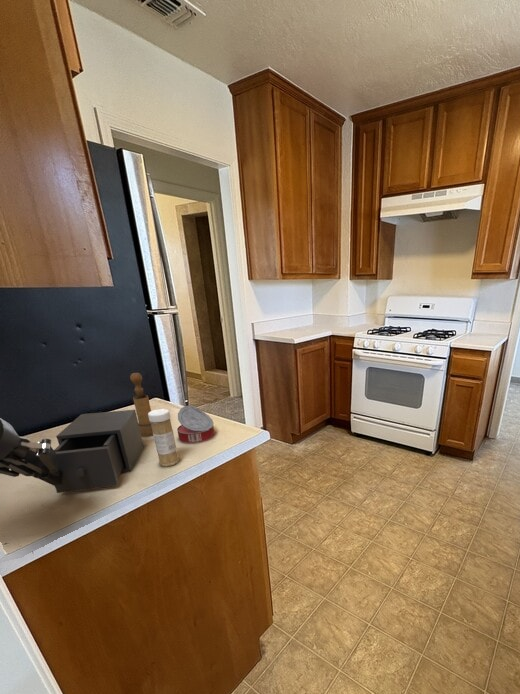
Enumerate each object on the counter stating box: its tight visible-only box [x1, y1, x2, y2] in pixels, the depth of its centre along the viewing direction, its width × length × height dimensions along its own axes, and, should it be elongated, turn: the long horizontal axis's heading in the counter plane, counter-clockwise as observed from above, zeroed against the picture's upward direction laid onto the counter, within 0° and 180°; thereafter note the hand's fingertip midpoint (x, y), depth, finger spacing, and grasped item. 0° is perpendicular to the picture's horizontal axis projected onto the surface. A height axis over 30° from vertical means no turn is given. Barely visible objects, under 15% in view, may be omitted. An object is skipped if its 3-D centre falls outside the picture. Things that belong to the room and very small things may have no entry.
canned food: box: [176, 405, 216, 444], centre depth 101 cm, size 11×10×10 cm
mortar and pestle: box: [129, 372, 153, 438], centre depth 102 cm, size 7×6×18 cm
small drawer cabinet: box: [55, 409, 145, 473], centre depth 86 cm, size 15×13×11 cm
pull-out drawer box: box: [53, 433, 125, 494], centre depth 78 cm, size 15×11×9 cm
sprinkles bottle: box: [148, 408, 180, 467], centre depth 84 cm, size 5×5×14 cm
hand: (58, 478), depth 71 cm, fingers closed
